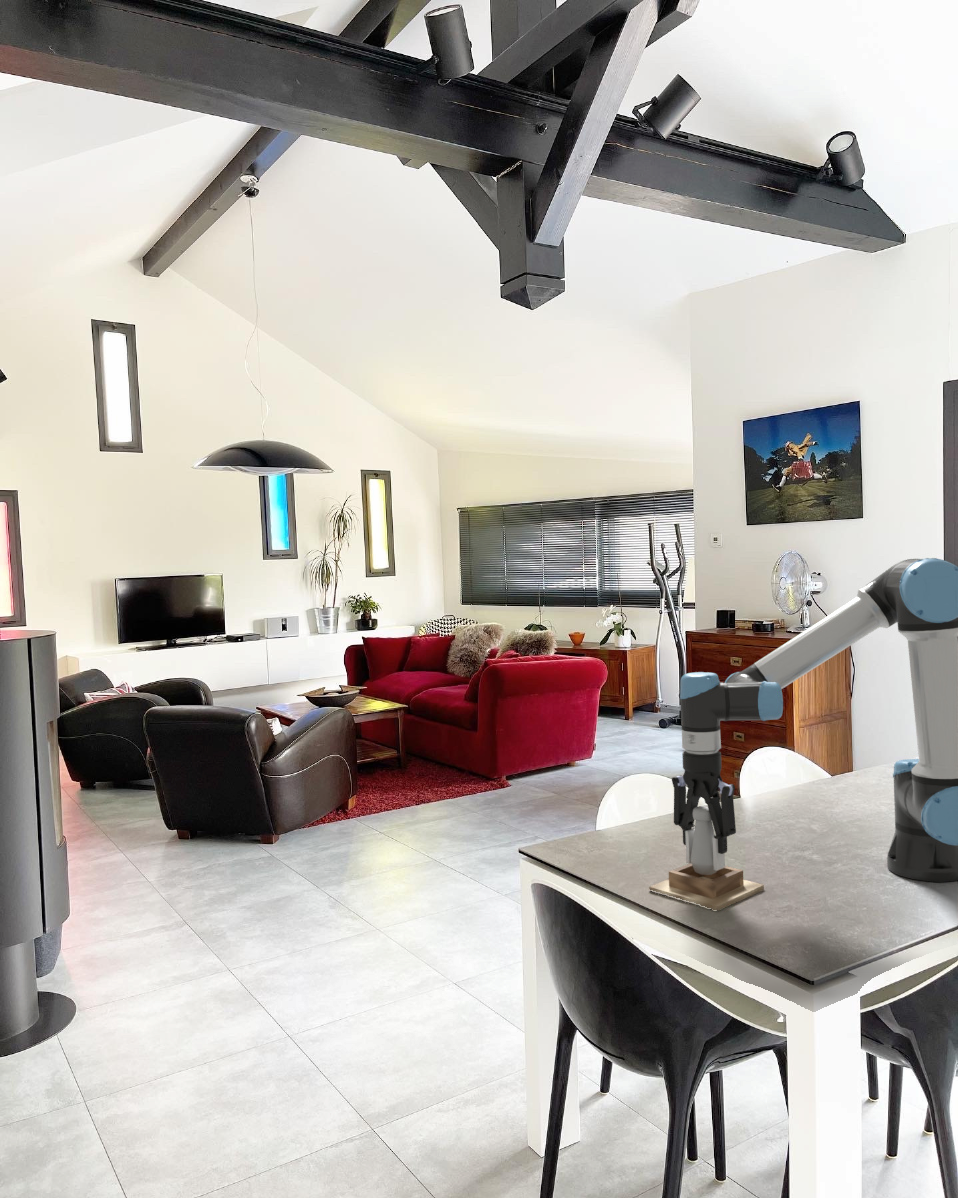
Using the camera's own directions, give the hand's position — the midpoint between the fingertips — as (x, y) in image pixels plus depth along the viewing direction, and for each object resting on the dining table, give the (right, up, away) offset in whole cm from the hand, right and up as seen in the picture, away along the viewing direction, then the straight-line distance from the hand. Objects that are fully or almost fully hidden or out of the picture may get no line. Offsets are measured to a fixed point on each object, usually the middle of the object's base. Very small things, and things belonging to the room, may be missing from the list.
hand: (705, 865), depth 186 cm
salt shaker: (0, -2, 0) cm, 2 cm away
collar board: (0, -5, 0) cm, 5 cm away
